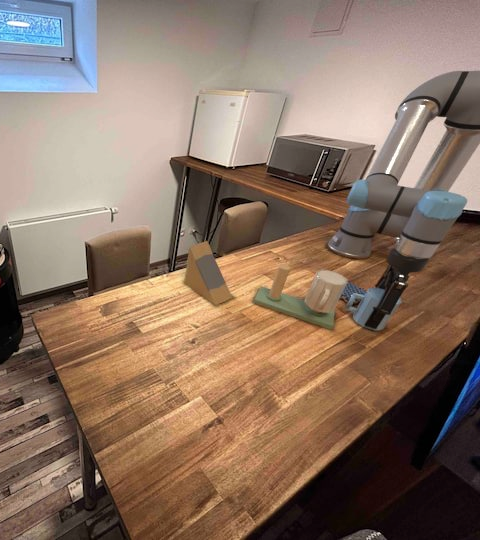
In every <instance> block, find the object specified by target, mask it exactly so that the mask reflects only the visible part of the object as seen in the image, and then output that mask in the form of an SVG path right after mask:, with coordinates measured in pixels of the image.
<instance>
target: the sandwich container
mask: <svg viewBox="0 0 480 540" xmlns="http://www.w3.org/2000/svg"><path fill="white" fill-rule="evenodd" d="M217 262H218V261H217V260H216V258H215V256H214V253H213V251H212V249H211V245H210V244H209V241H208V240H206V241H202V242H200V243H196V244H193V245H192V244H191V245H189V247H188V254H187V260H186V269H185V276H184V284H186V285H187V286H188V287H189V288H191V289H192V290H193V291H195V293H197V294H199V295H200V296H202V297H203V298H205V299H206V300H207V301H208V302H210V303H212V304H213V305H214V306H217V305H219V304H222V303H224V302H226V301H228V300H230V299H232V298H233V295H232V293H231V291H230V289H229V286H228V284H227V282H226V280H225V278H224V276H223V274H222V272H221V270H220V269H221V268H220V267H219V265H218V263H217Z"/></svg>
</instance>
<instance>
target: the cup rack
mask: <svg viewBox="0 0 480 540" xmlns="http://www.w3.org/2000/svg"><path fill="white" fill-rule="evenodd" d="M291 269H292V268H291V267H290V266H289V265H287V264H284V263H283V264H281V263H280V264H279V265H278V268H277V270H276V273H275V275H274V279H273V281H272V284H271V287H270V288H268V287H266V286H259V288H258V291H257V293H256V294H255V297H254V299H253V304H254V305H255V304H256V305H257V306H262V307H264V308H267V309H270V310H273V311H275V312H279V313H282V314H283V315H287V316H289V317H293V318H295V319H299V320H301V321H304V322H307V323H310V324H313V325H316V326H319V327H322V328H324V329H328V330H331V331H332V330H333V328H334V323H335V312H336V309H335V308H334V310H333V311H331V312H328V313H326V312H319V311H316V310H314V309H312V308H310V307H308V306H307V305H306V303H305V302H304V300H305V299H303V298H300V297H296V296H293V295H290V294H288V293H284V292H283V289H284V287H285V285H286V282H287V279H288V276H289V274H290V271H291Z"/></svg>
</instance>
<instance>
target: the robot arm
mask: <svg viewBox="0 0 480 540" xmlns="http://www.w3.org/2000/svg"><path fill="white" fill-rule="evenodd" d="M436 117H437V118H445V120H444V122H443V126H444V127H445V129H446V130H445V132H444V134H443V136H442V137H441V140H440V141H439V143H438V144H437V146H436V148H435V149H434V151H433V154H432V155H431V157H430V159H429V160H428V162H427V164H426V165H425V168H424V169H423V171H422V173H421V175H420V176H419V178H418V180H417V181H416V183H415V185H414V187H409V186H403V185H399V184H400V183H399V182H400V181H401V179H402V177H403V174H404V173H405V171H406V168H407V167H408V164H409V163H410V161H411V158H412V156H413V155H414V152H415V151H416V149H417V147H418V145H419V143H420V141H421V138H422V136H423V135H424V133H425V131H426V129H427V127H428V124H430V123H431V122H432V121H434V120H435V118H436ZM394 119H395V121H394V124H393V126H392V127H391V129H390V131H389V132H388V135H387V136H386V139H385V141H384V143H383V145H382V147H381V148H380V150H379V152H378V153H377V154H378V155H377V157H376V158H375V160H374V162H373V164H372V166H371V168H370V169H369V172H368V173H367V176H366V177H365V179H357V180H355V181H354V183H353V185H352V187H351V189H350V191H349V193H348V196H347V198H346V204H347V205H349V206H348V208H347V213H346V215H345V216H344V219H343V221H342V224H341V226H340V228H339V229H338V231H337V232H336V233H335V234H334V235H333V236H332V237H331V239H329V241H328V242H327V244H326V245H327V246H326V247H327V249H328V250H329V251H331V252H332V253H333V254H336V255H338V256H341V257H344V258H348V259H354V260H364V259H368V258H369V257H370V256H371V254H372V250H373V249H372V247H373V238H374V237H375V234H379V235H382V236H385V237H390V238H395V239H394V241H396V242H395V244H394V245H393V248H391V249H390V252H389V253H388V255H387V257H386V259H385V261H386V263H387V264H388V265H387V267H386V269H385V270H384V271H383V273H382V274H381V276H380V277H379V279H378V280H377V282H376V283H375V284H374V288H381V289H385V291H384V293H383V295H382V297H381V299H380V301H379V304H378V306H377V307H373V309H374V310H373V311H372V313H371V315H370V316H369V318H368V319H367V321H366V323H365V326H367V327H370V328H373V329H377V327H378V326H379V324H380V323H381V321H382V320H383V318H384V316H385V315H386V314H387V315H390V314H391V312H392V310H393V308H394V307H395V305H396V303H397V302H398V300H399V298H401V296H402V294H403V293H404V292H405V290H407V288H408V287H409V283H407V282H408V281H409V278H410V275H409V274H411V273H420V272H422V271H423V270H424V268H426V265H427V264H428V263H429V261H430V258H432V257H433V256H434V254H435V252H436V251H437V250H438V248H439V247H440V245H441V243H442V241H443V240H444V238H445V236H446V235H447V234H448V232H449V231H450V229H451V228H452V226H453V225H454V224H455V222H456V221H457V219H459V217H460V216H461V215H462V214H463V210H464V208H465V207H466V205H467V203H468V199H467V197H466V196H464V195H461V194H459V193H456V192H451V191H450V189H451V188H452V187H453V185H454V184H455V182H456V181H457V179H458V178H459V176H460V175H461V173H462V171H463V170H464V168H465V167H466V166H467V164H468V162H469V161H470V159H471V158H472V156H473V155H474V153H475V152H476V150H477V149H478V147H479V145H480V70H454V71H449V72H445V73H441V74H439V75H437V76H435V77H433V78H430V79H429V80H427V81H425V82H423V83H422V84H420V85H418V86H417V87H416V88H415V89H413V90H412V91H411V92H410V93H409V94H408V95H406V97H404V99H403V100H402V101H401V102H400V104H399V105H398V107H397V109H396V111H395V114H394Z"/></svg>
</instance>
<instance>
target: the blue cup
mask: <svg viewBox="0 0 480 540" xmlns="http://www.w3.org/2000/svg"><path fill="white" fill-rule="evenodd" d="M366 291H367V292H366ZM366 291H365V292H366V293H365V295H361V294H357V293H353V294H352V296H351V298H350V300H349V301H348V303H347V302H346V305H345V306H344V308H345V310H346V311H349V312H353V314H352V319H353V320H354V322H355V323H356V324H358V325H359V326H361V327H363V328H365V329H368V330H371V331H382V330H384V329H385V327H386V326H387V325H388V323H389V321H390V320H391V319H392V317H393V315H394V314H395V313H396V311H397V310H398V308H399V307H400V305H401V304H402V298H401V297H400V298H399V300H398V302H397V303H396V305H395V307H394V308H393V310H392V312H391V314H390V315H387V314H386V315H385V316H384V318H383V320H382V321H381V323H380V324H379V326H378V327H377V329H373V328H370V327H367V326H365V323H366V321H367V319H368V318H369V316H370V315H371V313H372V311H373V310H374V309H373V307H377V306H378V304H379V301H380V299H381V297H382V295H383V293H384V291H385V289H381V288H376V287H370V288H368V289H367V290H366ZM355 298H359V299H362V300H360V301H359V304H358V306H357V307H354V306H353V305H352V303H353V302H354V300H355ZM353 304H354V303H353Z"/></svg>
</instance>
